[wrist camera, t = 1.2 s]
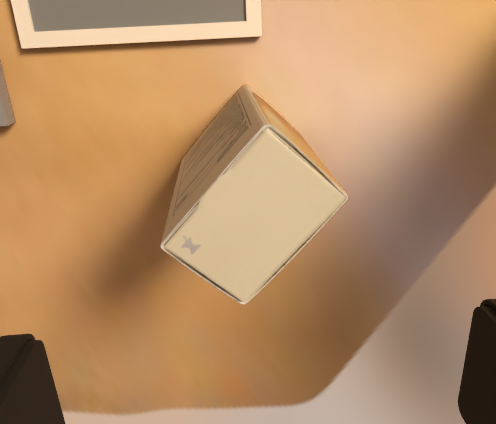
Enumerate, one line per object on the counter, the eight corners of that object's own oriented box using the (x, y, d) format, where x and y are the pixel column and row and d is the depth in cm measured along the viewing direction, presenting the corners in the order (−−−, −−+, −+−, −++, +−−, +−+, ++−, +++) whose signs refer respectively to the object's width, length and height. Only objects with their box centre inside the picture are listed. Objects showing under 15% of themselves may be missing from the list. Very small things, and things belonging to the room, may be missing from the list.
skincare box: (233, 201, 29) (239, 315, 18) (179, 159, 28) (150, 254, 17) (301, 125, 28) (356, 199, 17) (247, 76, 26) (267, 121, 15)
